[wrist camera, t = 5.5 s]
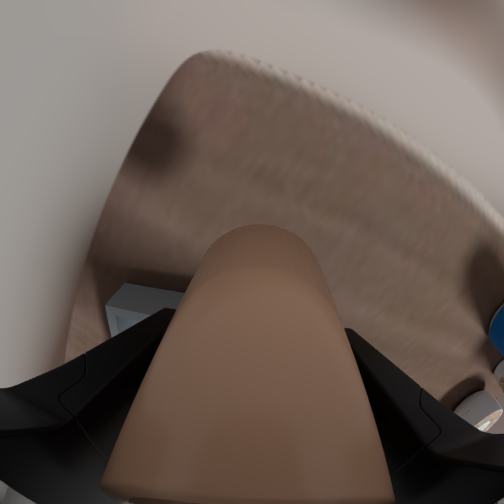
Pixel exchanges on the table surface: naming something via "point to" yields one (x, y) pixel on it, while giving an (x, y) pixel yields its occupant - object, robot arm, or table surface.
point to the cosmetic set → (483, 405)
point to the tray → (137, 305)
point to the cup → (252, 391)
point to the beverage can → (497, 330)
